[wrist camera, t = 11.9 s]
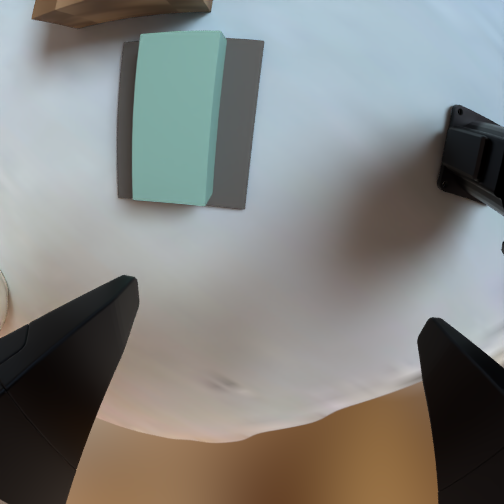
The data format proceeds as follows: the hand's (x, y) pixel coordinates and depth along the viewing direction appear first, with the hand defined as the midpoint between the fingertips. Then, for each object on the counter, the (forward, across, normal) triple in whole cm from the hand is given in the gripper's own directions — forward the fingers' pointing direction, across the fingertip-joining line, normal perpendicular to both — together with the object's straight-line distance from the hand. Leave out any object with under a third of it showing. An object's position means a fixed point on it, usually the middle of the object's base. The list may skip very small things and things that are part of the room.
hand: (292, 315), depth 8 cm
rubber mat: (+12, +7, -4) cm, 15 cm away
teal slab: (+12, +7, -4) cm, 14 cm away
